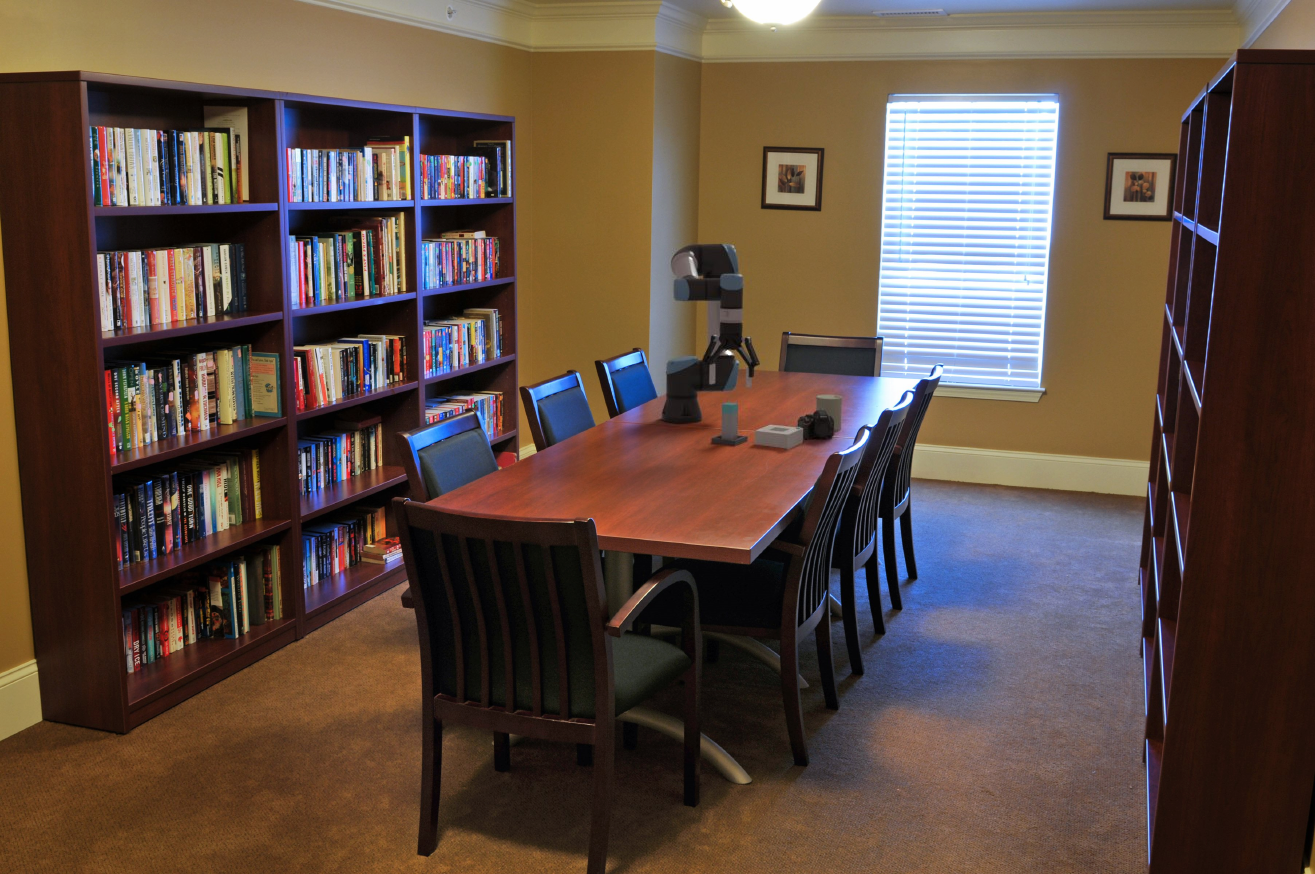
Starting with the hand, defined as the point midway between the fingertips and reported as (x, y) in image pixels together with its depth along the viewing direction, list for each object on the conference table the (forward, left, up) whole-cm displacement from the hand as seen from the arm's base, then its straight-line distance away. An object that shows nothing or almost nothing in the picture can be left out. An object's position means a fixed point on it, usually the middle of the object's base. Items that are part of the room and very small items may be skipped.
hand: (730, 385), depth 367 cm
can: (+19, +40, -20) cm, 49 cm away
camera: (+22, +23, -20) cm, 38 cm away
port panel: (+15, +7, -20) cm, 26 cm away
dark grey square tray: (0, 0, -20) cm, 20 cm away
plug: (0, 0, -19) cm, 19 cm away
